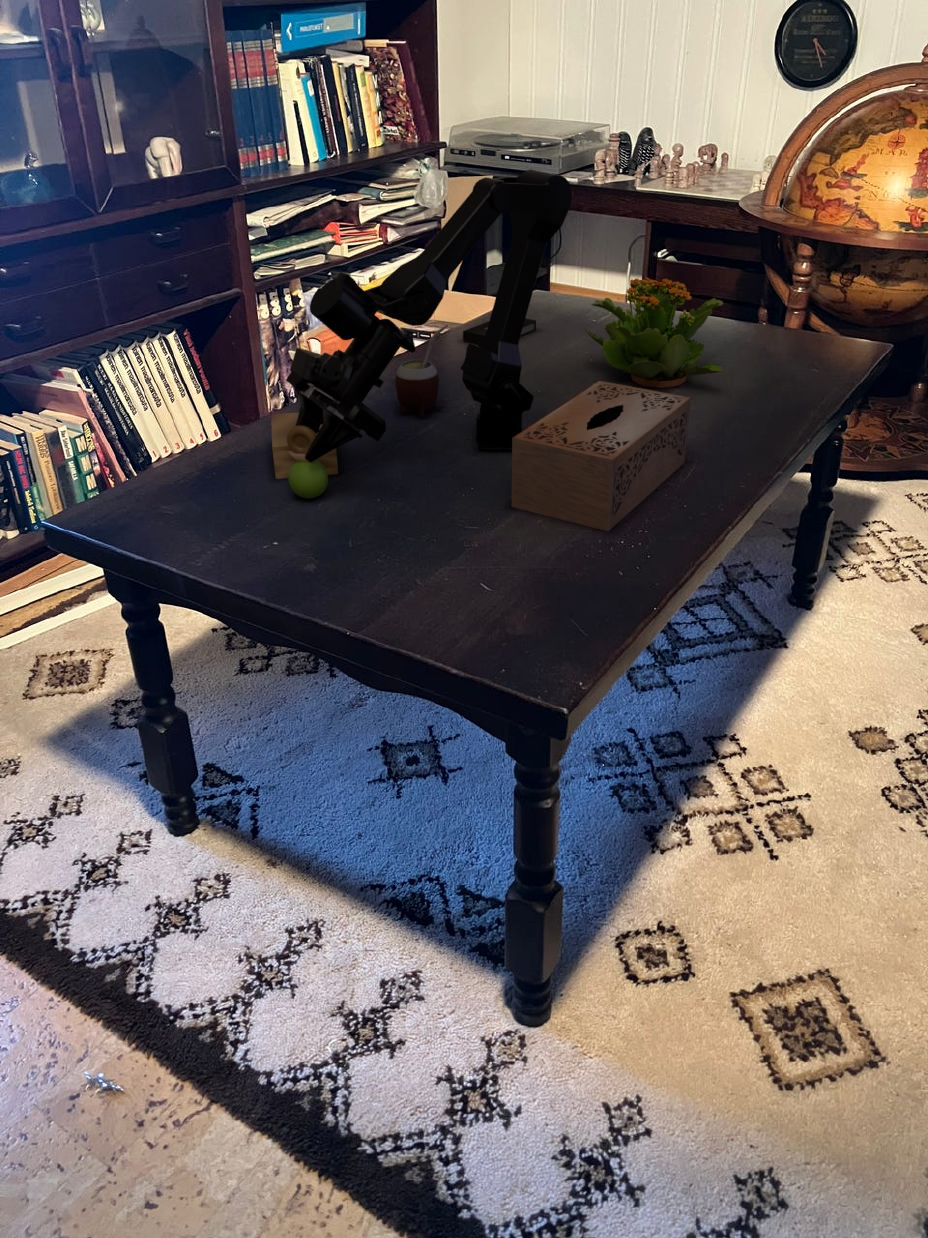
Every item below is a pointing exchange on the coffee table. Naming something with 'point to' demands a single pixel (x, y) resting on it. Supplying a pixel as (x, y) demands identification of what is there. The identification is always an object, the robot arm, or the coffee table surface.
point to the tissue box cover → (599, 454)
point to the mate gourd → (418, 384)
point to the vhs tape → (479, 331)
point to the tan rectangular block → (281, 448)
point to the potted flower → (655, 334)
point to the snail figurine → (305, 464)
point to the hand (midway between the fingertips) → (299, 454)
